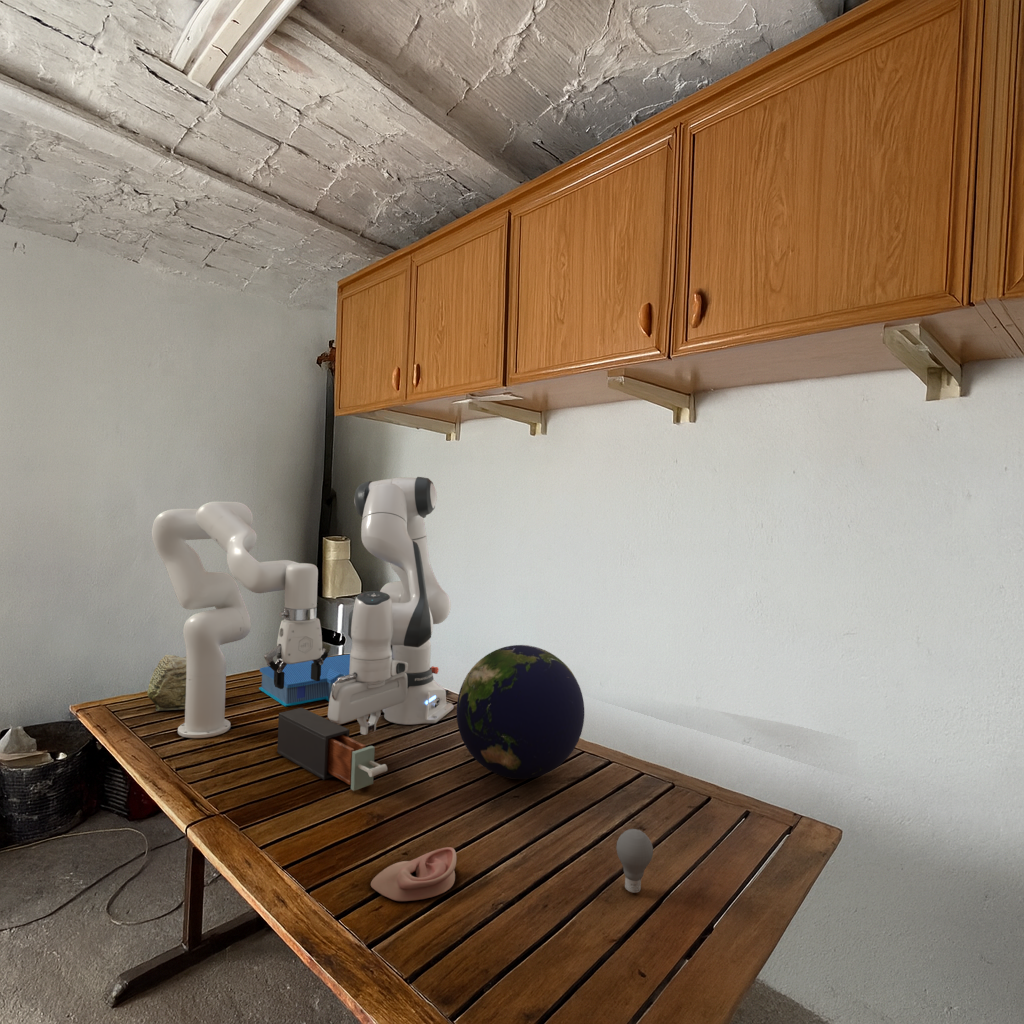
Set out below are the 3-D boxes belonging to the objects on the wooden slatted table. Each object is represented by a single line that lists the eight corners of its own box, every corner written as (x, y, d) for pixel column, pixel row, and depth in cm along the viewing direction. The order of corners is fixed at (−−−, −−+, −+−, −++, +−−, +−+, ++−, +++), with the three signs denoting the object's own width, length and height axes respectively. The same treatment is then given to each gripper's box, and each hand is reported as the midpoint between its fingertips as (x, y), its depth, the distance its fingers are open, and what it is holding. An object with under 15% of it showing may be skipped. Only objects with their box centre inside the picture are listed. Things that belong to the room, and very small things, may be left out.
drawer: (388, 792, 135) (390, 754, 135) (369, 799, 132) (370, 761, 132) (323, 757, 152) (325, 723, 152) (304, 763, 148) (306, 728, 148)
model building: (289, 709, 186) (291, 675, 185) (258, 688, 204) (259, 657, 204) (403, 687, 212) (405, 657, 212) (366, 670, 230) (368, 643, 230)
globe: (430, 785, 141) (436, 651, 140) (486, 740, 168) (491, 628, 168) (558, 816, 130) (565, 670, 129) (595, 762, 157) (601, 642, 157)
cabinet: (347, 771, 146) (349, 729, 146) (324, 780, 142) (325, 736, 141) (300, 746, 160) (301, 707, 160) (277, 752, 155) (278, 712, 155)
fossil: (144, 707, 182) (145, 655, 182) (212, 696, 194) (213, 647, 194) (151, 716, 175) (153, 662, 175) (221, 703, 188) (223, 653, 188)
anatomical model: (363, 870, 101) (391, 834, 112) (362, 895, 101) (390, 856, 113) (442, 884, 99) (463, 845, 110) (441, 909, 99) (462, 868, 110)
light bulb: (610, 879, 108) (613, 822, 108) (644, 879, 109) (647, 822, 109) (619, 902, 102) (622, 840, 102) (655, 901, 103) (658, 840, 103)
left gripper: (274, 620, 146) (272, 694, 146) (339, 612, 159) (337, 680, 159) (258, 615, 151) (256, 687, 151) (323, 608, 164) (320, 674, 164)
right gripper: (343, 682, 125) (341, 751, 126) (413, 662, 143) (410, 723, 143) (322, 676, 129) (319, 743, 129) (392, 657, 146) (390, 717, 146)
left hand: (297, 683), depth 155 cm, fingers open, 9 cm apart
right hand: (368, 732), depth 136 cm, fingers closed
